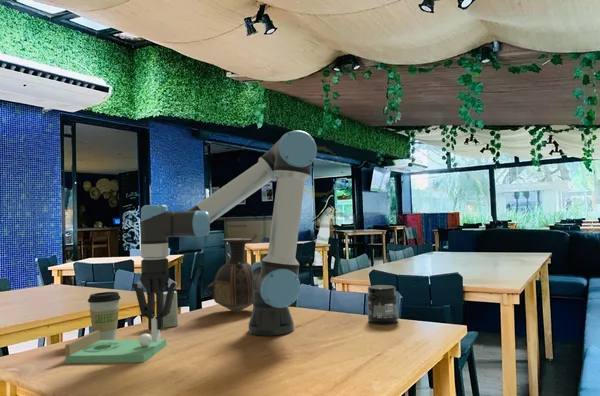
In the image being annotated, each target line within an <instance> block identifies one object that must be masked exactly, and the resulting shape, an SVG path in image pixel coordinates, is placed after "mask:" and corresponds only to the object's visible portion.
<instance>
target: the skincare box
mask: <svg viewBox="0 0 600 396" xmlns="http://www.w3.org/2000/svg"><path fill="white" fill-rule="evenodd" d="M166 296H167V291H164V293H163V303H164V305H165V300H166ZM178 326H179V315H178V292H177V290H175V291H174V295H173V300H172V305H171V309H170V313H169V314H168V315H167V316H164V317H163V328H169V327H172V328H173V327H178Z"/></svg>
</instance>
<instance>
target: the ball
mask: <svg viewBox="0 0 600 396" xmlns="http://www.w3.org/2000/svg"><path fill="white" fill-rule="evenodd" d="M138 339H139V344H140V345H141V346H143V347H146V346H148V345H150V344H151V342H152V335H151V334H149V333H142V334H141V335H140V336H139V337H138Z"/></svg>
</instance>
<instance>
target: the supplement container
mask: <svg viewBox="0 0 600 396" xmlns="http://www.w3.org/2000/svg"><path fill="white" fill-rule="evenodd" d="M367 293H368V295H367V296H366V300H367V301H366V302H367V304H366V305H367V320H368V321H369V322H370V323H371V324H375V325H376V324H377V325H390V324H392V325H393V324H394V323H397V322H398V321H399V313H398V296H397V295H396V286H394V285H389V284H388V285H387V284H375V285H370V286H368V287H367Z"/></svg>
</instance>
